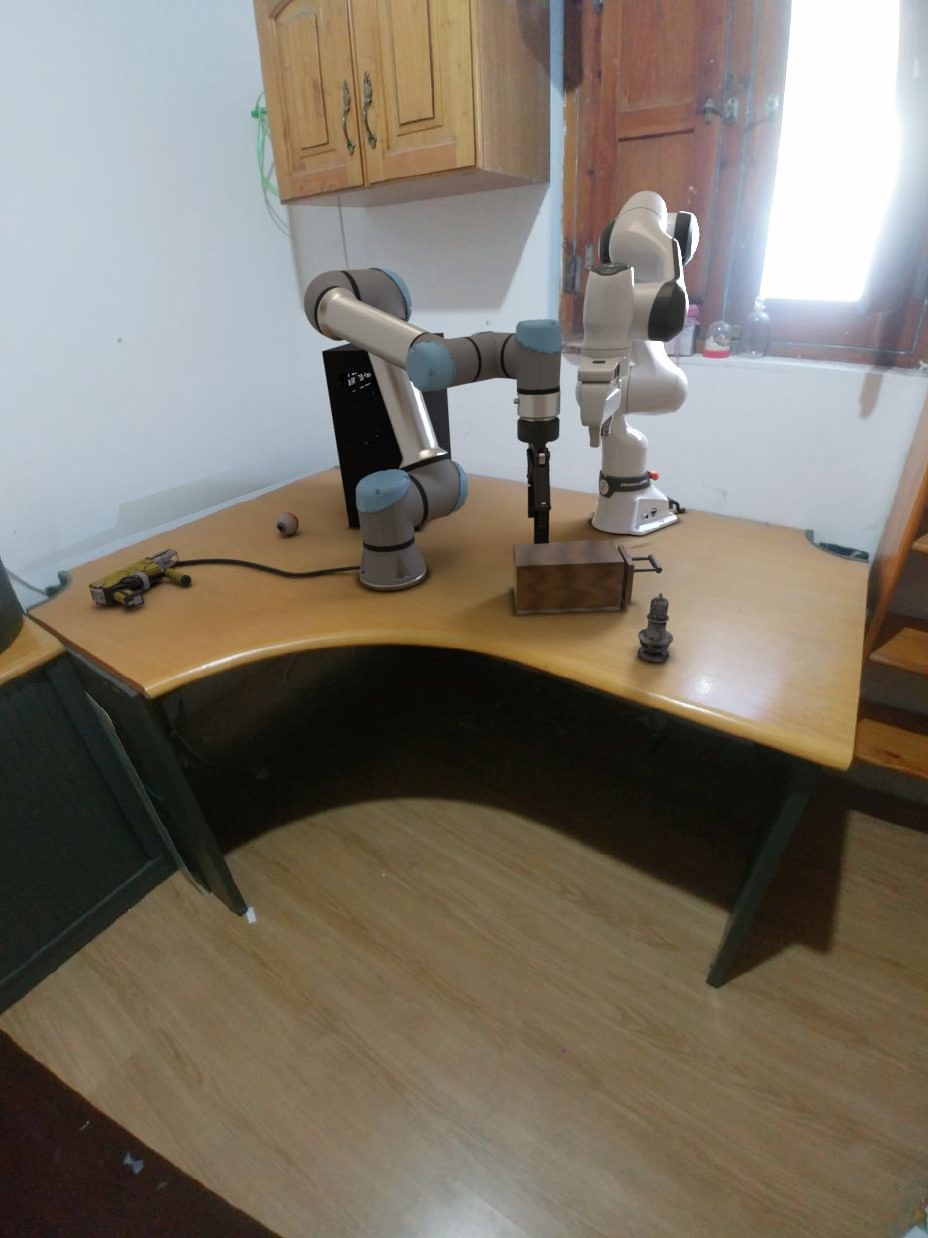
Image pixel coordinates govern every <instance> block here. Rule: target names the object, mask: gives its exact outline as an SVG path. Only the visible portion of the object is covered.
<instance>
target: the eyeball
mask: <svg viewBox="0 0 928 1238" xmlns="http://www.w3.org/2000/svg"><path fill="white" fill-rule="evenodd" d="M299 525H300V522H299V519H298V517H297V516H296V515H295V514H294V513H292V512H287V511H286V512H282V513H280V514H279V515H278V516H277V517H276V520H275V527H276V529H277V530H278V531H279V532H280V533H281V534H282V535H285V536H286V535H287V536H289V535H293V534H295V533H296V532H297V531H298V529H299Z"/></svg>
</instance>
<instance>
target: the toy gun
mask: <svg viewBox="0 0 928 1238" xmlns="http://www.w3.org/2000/svg"><path fill="white" fill-rule="evenodd" d="M173 557H176V558H177V560H175V559H172V558H173ZM177 561H180V560H179V553H178V551H177V550H176V549H171V548H169V547H168V548H166V549H164V550H162V551H159V552H158V553H155V554H153V555H151V556H146V557H145V558H142V559H140V560H138V561H135V562H134V563H132V564H130V565H127V566H125V567H123V568H121V569H119V570H117V571H115V572H112V573H110V574H108V575H106V576H104V577H102V578H100V579H97V580H95V581H93V582H91V583H89V584H88V588H89V592H90V595H91V599H92V601H93V602H95V604H96V605H100V606H103V605H113V604H117V603H121V604H123V605H124V606H125V611H128V612H129V611H131V610H134V609H136V608H138V607H141V606H143V605H145V604H146V603H145V598H144V594H143V592H145V591H147V590H149V589H150V588H151V585H152V584H154V583H157V582H160V581H162V580H163V579H164V578H166V579H169V580H171V581H173V582H177V584H181V585H182V586H184V587H186V586H189V585H191V584H192V577H191V576H190V575H189V574H185V573H182V572H180V571H178V570H175V569H173V568H172V567H173V566H176V565H175V562H177Z"/></svg>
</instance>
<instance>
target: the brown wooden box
mask: <svg viewBox="0 0 928 1238" xmlns="http://www.w3.org/2000/svg"><path fill="white" fill-rule="evenodd" d="M512 559H513V560H512V562H513V563H512V566H513V567H512V569H513V570H512V572H513V573H512V574H513V576H512V577H513V587H512V588H513V589H512V590H513V596H514V604H515V611H516V612H515V613H516V615H533V614H535V615H536V614H557V613H559V614H560V613H584V612H585V613H586V612H610V611H621V602H622V596H621V593H622V582H623V571H624V560H623V558H622V556H621V555H620V553H619V551H618V546H617V545H616V543H615V542H614V540H613V539H600V540H598V539H597V540H575V541H554V542H553V541H551V542H550V541H549V543H546V544H534V542H531V543H529V542H527V543H513V544H512Z"/></svg>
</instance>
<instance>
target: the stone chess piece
mask: <svg viewBox="0 0 928 1238" xmlns="http://www.w3.org/2000/svg"><path fill="white" fill-rule="evenodd" d="M669 606H670V605H669V600H668V599H667V598H665V597H663V594H662V592H660V593H659V594H658V596H655V597H653V598H652V599H651V600H650V605H649V612H648V614H646V619H647V626H646V627H645V628H642V629H641V630H640V631H638V633H637V638H638V640H639V643H640V647H639V648H638V649H637V654H638V656H639V658H640V659H642V660H644V661H647V662H652V663H660V662H665V661H666V660H668V658H670V652H669V651H668V649H669V647H670V646H671V644H672V643H673V642H674V636H673V634H672V633H671V632H670V631H668V630H667V623H668V622H669V620H670V617H669V615H668V611H669Z"/></svg>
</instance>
